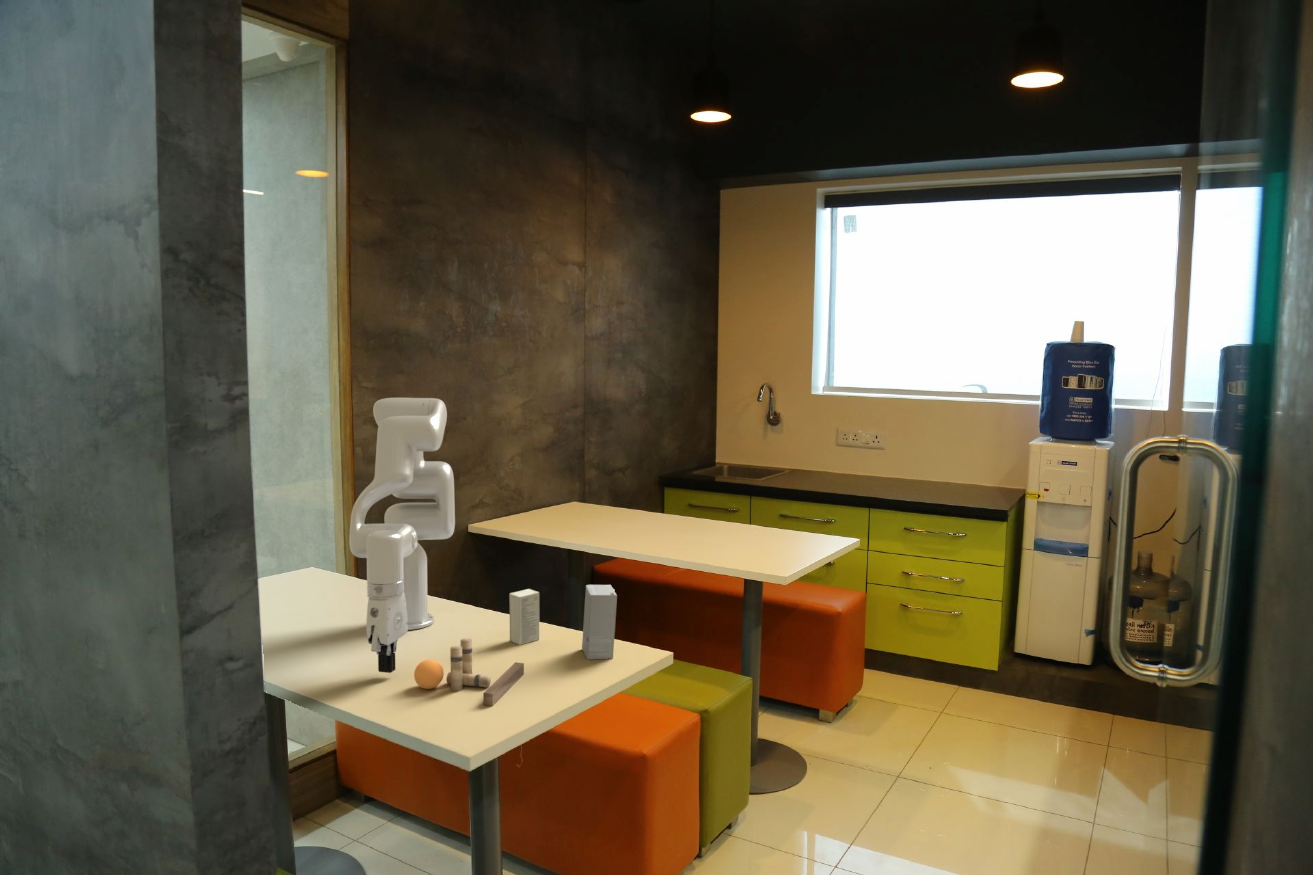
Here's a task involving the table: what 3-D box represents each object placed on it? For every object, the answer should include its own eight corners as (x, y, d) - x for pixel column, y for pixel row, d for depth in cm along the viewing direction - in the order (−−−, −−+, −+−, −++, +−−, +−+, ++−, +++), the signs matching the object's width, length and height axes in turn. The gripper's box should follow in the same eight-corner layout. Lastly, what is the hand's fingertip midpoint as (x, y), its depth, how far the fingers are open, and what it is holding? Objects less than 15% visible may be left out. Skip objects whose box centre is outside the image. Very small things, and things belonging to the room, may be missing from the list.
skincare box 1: (529, 635, 220) (529, 588, 219) (540, 639, 217) (540, 591, 216) (508, 641, 216) (508, 592, 214) (519, 645, 212) (519, 596, 211)
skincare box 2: (581, 648, 211) (581, 584, 209) (610, 646, 212) (611, 582, 211) (586, 660, 203) (587, 593, 201) (617, 658, 204) (617, 592, 203)
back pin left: (458, 680, 189) (458, 639, 189) (467, 677, 191) (467, 637, 190) (465, 683, 188) (464, 642, 187) (474, 680, 190) (474, 639, 189)
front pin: (447, 671, 187) (487, 674, 185) (452, 672, 189) (491, 676, 187) (445, 682, 186) (485, 686, 184) (449, 684, 188) (489, 688, 186)
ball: (443, 694, 184) (422, 689, 187) (453, 666, 187) (432, 662, 190) (424, 686, 180) (404, 682, 183) (435, 657, 182) (414, 654, 185)
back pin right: (448, 689, 185) (447, 647, 184) (458, 685, 186) (457, 644, 186) (455, 692, 183) (454, 650, 182) (464, 689, 185) (464, 647, 184)
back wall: (483, 704, 177) (483, 692, 176) (515, 673, 194) (515, 662, 194) (492, 705, 176) (492, 693, 176) (523, 673, 194) (523, 662, 194)
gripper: (384, 599, 181) (385, 685, 182) (417, 580, 195) (418, 660, 197) (350, 596, 182) (352, 682, 184) (386, 578, 197) (388, 657, 198)
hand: (386, 670), depth 190 cm, fingers closed
